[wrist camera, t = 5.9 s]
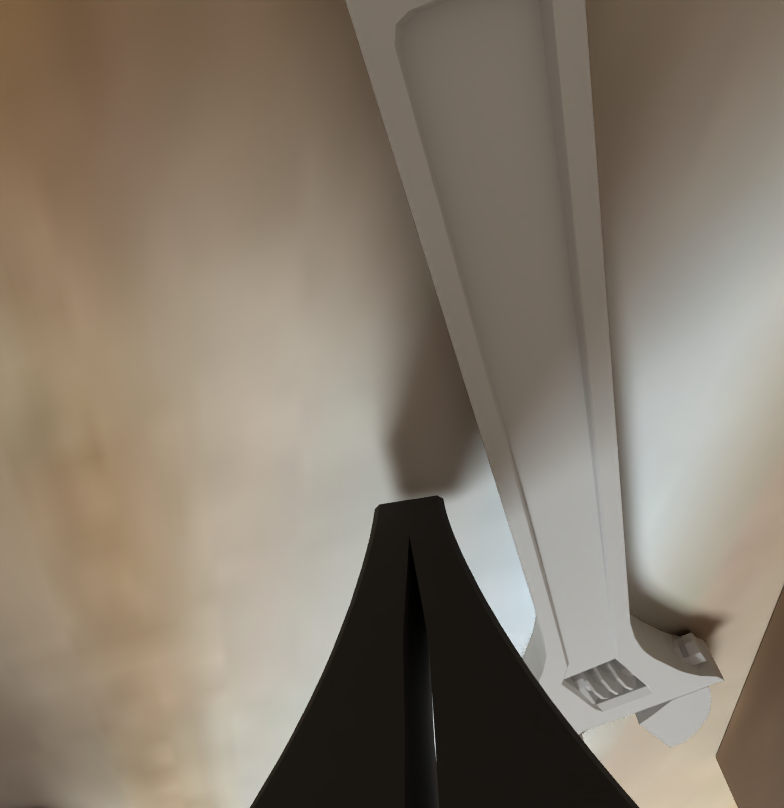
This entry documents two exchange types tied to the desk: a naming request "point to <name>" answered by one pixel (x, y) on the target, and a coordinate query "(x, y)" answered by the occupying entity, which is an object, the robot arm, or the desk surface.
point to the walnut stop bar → (759, 727)
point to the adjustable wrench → (531, 324)
